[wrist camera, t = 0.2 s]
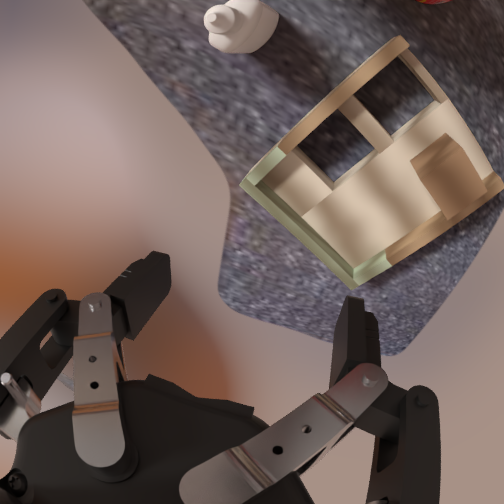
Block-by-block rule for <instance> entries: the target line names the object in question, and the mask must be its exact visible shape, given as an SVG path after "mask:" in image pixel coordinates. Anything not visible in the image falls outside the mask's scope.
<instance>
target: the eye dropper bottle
mask: <svg viewBox="0 0 504 504" xmlns="http://www.w3.org/2000/svg"><path fill="white" fill-rule="evenodd" d="M278 20H279V14H278V12H277V11H275V10H274V9H272V8H271V7H269V6H268V5H266V4H264V3H263V2H261V1H259V0H230V1H228V2H227V3H226V4H225V5H216V6H214V7H211V8H210V9H209V10H208V11H207V13H206V14H205V17H204V25H205V26H206V29H207V30H209V31H210V32H209V43H210V44H211V45H212V46H213V47H215V48H217V49H218V50H220V51H222V52H225V53H252V52H254V51H256V50H257V49H259V48H260V47H262V46H263V45H264V44H265V43H266V42H267V41H268V40H269V39H270V37H271V36H272V34H273V33H274V31H275V29H276V26H277V24H278Z"/></svg>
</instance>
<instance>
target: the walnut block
mask: <svg viewBox="0 0 504 504" xmlns="http://www.w3.org/2000/svg"><path fill="white" fill-rule="evenodd" d="M410 162H411V164H412V166H413V168H414V170H415V172H416V173H417V175H418V177H419V179H420V181H421V182H422V183H423V185H424V186H425V188H426V189H427V190H428V192H429V193H430V195H431V196H432V197H433V199H434V200H435V202H436V203H437V205H438V206H439V208H440V209H441V211H442V212H443V214H444V215H445V217H446V218H447V220H449V219H451V218H452V217H453V216H455V215H456V214H458V213H459V212H460V211H462V210H463V209H465V208H466V207H467V206H469V205H470V204H471V203H473V202H474V201H475V200H477V199H478V198H479V197H481V196H482V195H483V194H485V193H486V192H487V189H486V187H485V185H484V183H483V182H482V180H481V178H480V176H479V174H478V173H477V171H476V169H475V167H474V166H473V164H472V162H471V161H470V159H469V157H468V156H467V154H466V152H465V151H464V149H463V148H462V147H461V146H460V145H459V144H458V143H457V142H456V141H455V140H454V139H452V138H451V137H450V136H449V135H448V134H447V133H444V134H443V135H442V136H441V137H439V138H438V139H437V140H436V141H434V142H433V143H432V144H430V145H429V146H428V147H427V148H425V149H424V150H423V151H422V152H420V153H419V154H418V155H416V156H415V157H414V158H413V159H411V160H410Z"/></svg>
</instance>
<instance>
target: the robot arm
mask: <svg viewBox="0 0 504 504" xmlns="http://www.w3.org/2000/svg"><path fill="white" fill-rule="evenodd" d="M170 288H171V269H170V257H169V255H168V254H165V253H160V252H156V251H152V252H151V253H150V254H149V255H148V256H147V257H146V258H145V259H140V260H138V261H136V262H134V263H132V264H131V265H130V266H129V267H128V268H127V269H126V270H125V271H124V272H123V273H122V274H121V275H120V276H119V277H118V278H117V279H116V280H115V281H114V282H113V283H112V284H111V285H110V286H109V287H108V288H107V289H106V290H105V291H104V292H103V293H92V294H89V295H87V296H85V297H84V298H83V299H82V300H81V301H77V300H67V297H66V294H65V292H64V291H63V290H61V289H51V290H48V291H46V292H44V293H43V294H42V295H41V296H40V297H39V298H38V299H37V300H36V301H35V302H34V303H33V304H32V305H31V306H30V307H29V308H28V309H27V310H26V311H25V313H24V314H23V315H22V316H21V317H20V318H19V319H18V320H17V321H16V322H15V323H14V325H12V327H11V328H10V329H9V330H8V331H7V332H6V333H5V334H4V336H3V337H2V338H1V339H0V434H1V435H2V436H3V437H5V438H6V439H12V440H14V441H15V442H17V450H16V455H15V459H14V463H13V466H12V468H11V470H10V472H9V473H8V474H7V475H6V476H5V477H3V478H2V479H0V504H315V503H314V502H313V500H312V498H311V497H310V495H309V493H308V491H307V489H306V488H305V486H304V484H303V482H302V481H301V479H300V476H302V475H303V474H304V473H306V472H307V471H308V470H309V469H311V468H312V467H313V466H314V465H315V464H317V463H318V462H319V461H320V460H321V459H322V458H323V457H324V456H325V455H326V454H327V453H328V452H329V451H331V450H332V449H333V448H334V447H335V446H336V445H337V444H338V443H339V442H341V441H342V440H343V439H344V438H345V437H346V436H347V435H348V434H349V433H350V432H351V431H352V430H353V429H354V428H355V427H357V428H360V429H361V430H364V431H366V432H368V433H370V434H373V435H375V444H374V452H373V461H372V468H371V475H370V481H369V488H368V493H367V499H366V504H439V498H440V476H441V442H440V419H439V406H438V399H437V397H436V395H435V393H434V392H433V391H432V390H430V389H429V388H427V387H425V386H421V385H418V386H413V387H412V388H410V389H409V390H408V391H407V390H405V389H403V388H400V387H398V386H396V385H394V384H392V383H391V382H390V381H388V376H387V374H386V372H385V371H384V370H383V369H382V368H381V355H380V341H379V333H378V331H379V329H378V321H377V319H376V318H375V316H374V314H373V313H372V312H367V311H365V308H364V299H362V298H357V297H352V296H348V295H347V296H346V298H345V301H344V304H343V306H342V309H341V312H340V315H339V317H338V320H337V323H336V327H335V331H334V340H333V353H332V363H331V374H330V383H329V390H328V391H327V392H325V393H324V394H320V393H317V394H316V395H314V396H313V397H311V398H310V399H309V400H307V401H306V402H304V403H303V404H302V405H300V406H299V407H297V408H296V409H295V410H293V411H292V412H290V413H289V414H288V415H286V416H285V417H283V418H282V419H280V420H279V421H277V422H276V423H274V424H273V425H272V426H269V425H268V424H266V423H265V422H264V421H263V420H261V419H260V418H258V417H256V416H254V415H253V412H254V407H251V406H247V405H243V404H239V403H236V402H232V401H229V400H219V399H208V398H198V397H195V396H193V395H192V394H190V393H188V392H187V391H185V390H184V389H182V388H180V387H179V386H177V385H176V384H174V383H172V382H169V381H167V380H164V379H161V378H159V377H156V376H153V375H151V374H149V375H148V376H147V378H146V380H129V381H128V379H127V374H126V367H125V361H124V354H123V346H122V342H121V341H122V340H123V339H124V337H126V338H128V339H131V340H134V339H135V338H136V336H137V335H138V334H139V332H140V331H141V330H142V328H143V327H144V325H145V324H146V323H147V321H148V320H149V319H150V317H151V316H152V314H153V313H154V312H155V311H156V309H157V308H158V307H159V305H160V304H161V303H162V301H163V300H164V299H165V297H166V296H167V295H168V293H169V291H170ZM49 331H51V333H52V336H51V337H50V338H49V340H48V341H47V342H46V343H45V345H44V346H43V347H42V348H41V349H40V343H41V341H42V340H43V338H44V337H45V336H46V335H47V334H48V332H49ZM72 356H73V381H74V401H72V402H69V403H67V404H64V405H61V406H58V407H56V408H53V409H50V410H47V411H45V412H42V413H40V410H41V400H42V399H43V398H44V396H45V394H46V393H47V392H48V390H49V389H50V387H51V386H52V384H53V383H54V381H55V380H56V379H57V377H58V376H59V374H60V373H61V371H62V370H63V369H64V367H65V366H66V364H67V363H68V361H69V360H70V359H71V358H72Z"/></svg>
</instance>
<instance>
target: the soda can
mask: <svg viewBox="0 0 504 504" xmlns="http://www.w3.org/2000/svg"><path fill="white" fill-rule="evenodd" d="M416 1H418V2H421V3H425V4H441V3H446V2H449V1H451V0H416Z"/></svg>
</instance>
